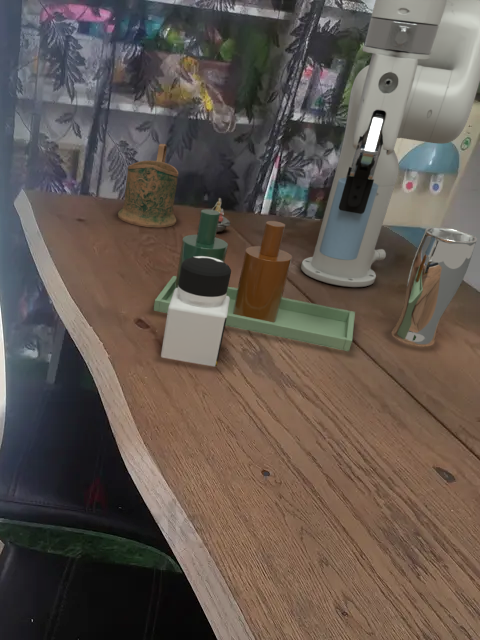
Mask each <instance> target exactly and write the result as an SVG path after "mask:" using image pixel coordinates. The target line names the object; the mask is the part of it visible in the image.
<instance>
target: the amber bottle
mask: <svg viewBox="0 0 480 640" xmlns="http://www.w3.org/2000/svg"><path fill="white" fill-rule="evenodd" d="M285 228H286V224H285V223H283V222H280V221H277V220H268V221H266V222H265V225H264V231H263V235H262V239H261V243H260V244H261V245H254V246H249V247H247V248H245V252H244V257H243V261H242V265H241V271H240V275H239V280H238V284H237V288H238V289H237V294H236V299H235V303H234V308H233V314H235V315H240V316H245V317H249V318H254V319H259V320H264V321H269V322H275V321H276V320H277V316H278V312H279V308H280V304H281V300H282V297H283V295H284V292H285V287H286V283H287V281H288V280H287V279H288V276H289V271H290V268H291V263H292V259H293V256H292V254H291V253H289V252H287V251H286V250H283V249H281V246H282V241H283V238H284V232H285Z"/></svg>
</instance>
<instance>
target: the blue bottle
mask: <svg viewBox="0 0 480 640" xmlns="http://www.w3.org/2000/svg"><path fill="white" fill-rule="evenodd" d="M356 168H357V167H356ZM354 175H355V174H354ZM346 179H347V178H340V179H339V180H338V184H337V187H336V191H335V195H334V198H333V202H332V206H331V209H330V213H329V217H328V221H327V224H326V228H325V232H324V235H323V239H322V243H321V246H320V252H321V253H322V254H323V255H325V256H328V257H331V258H335V259H341V260H353V259H356V258H357V256H358V253H359V249H360V246H361V243H362V239H363V236H364V233H365V229H366V226H367V223H368V220H369V216H370V213H371V210H372V206H373V203H374V200H375V196H376V193H377V190H378V185H377V184H375V183H373V185H372V188H371V192H370V195H369V198H368V202H367V205H366V208H365V212H364V213H363V214H359V213H353V212H347V211H342V210H340V209H339V204H340V201H341V197H342V193H343V190H344V186H345V183H346Z"/></svg>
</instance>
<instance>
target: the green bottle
mask: <svg viewBox="0 0 480 640" xmlns="http://www.w3.org/2000/svg"><path fill="white" fill-rule="evenodd" d="M219 216H220V213H219V212H218V211H215V209H213V210H212V209H209V208H208V209H206V208H205V209H201V211H200V216H199V222H198V225H197V226H198V227H197V233H196V234H188V235H185V236H183V237H182V241H181V246H180V253H179V260H178V266H177V272H176V276H177V277H176V284H175V289H176V288H178V283H179V277H180V271H181V265H182V262H183V261H185V260H186V259H188V258H192V257H196V256H205V257H212V258H216V259H219V260H221V261H223V262H224V263H225V262H226V258H227V257H226V256H227V253H228V252H227V251H228V247H229V244H228V242H227V241H225V240H224V239H221V238H218V237H217V233H218V232H217V227H218V221H219Z"/></svg>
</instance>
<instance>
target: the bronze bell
mask: <svg viewBox="0 0 480 640" xmlns="http://www.w3.org/2000/svg"><path fill="white" fill-rule="evenodd" d="M167 147H168V146H167V144H166V143H160V144H159V145H158V148H157V155H156V160H141V161H137V162H134V163H132V164H129V165H128V166H127V175H126V181H125V190H124V199H123V207H122V208H121V209H120V210H119V211H118V212H117V217H118V219H119V220H120V221H123V222H125V223H127V224H131V225H134V226H139V227H145V228H170V227H173V226H175V225H176V223H177V218H176V216H175V214H174V205H175V198H176V197H175V196H176V192H177V186H178V178H179V171H178V170H177V168H176V167H175V166H173V165H171V164H169V163H167V162H166V158H167V157H166V156H167V149H168V148H167Z"/></svg>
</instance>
